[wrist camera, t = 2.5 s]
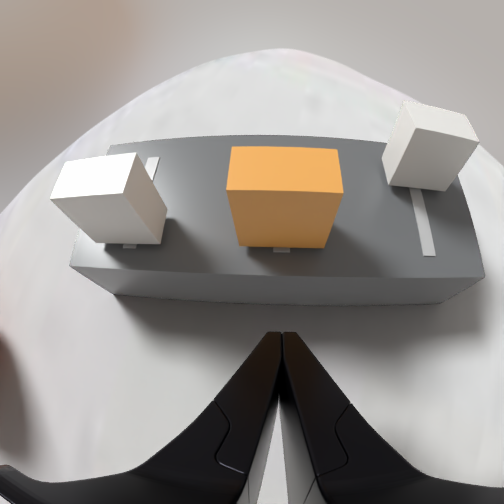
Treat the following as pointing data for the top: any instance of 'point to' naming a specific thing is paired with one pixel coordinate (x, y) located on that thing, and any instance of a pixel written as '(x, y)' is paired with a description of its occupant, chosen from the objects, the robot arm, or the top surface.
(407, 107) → the tab
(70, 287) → the top surface
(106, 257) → the grey cube slider board
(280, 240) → the tab
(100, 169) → the tab
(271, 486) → the top surface
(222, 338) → the top surface
